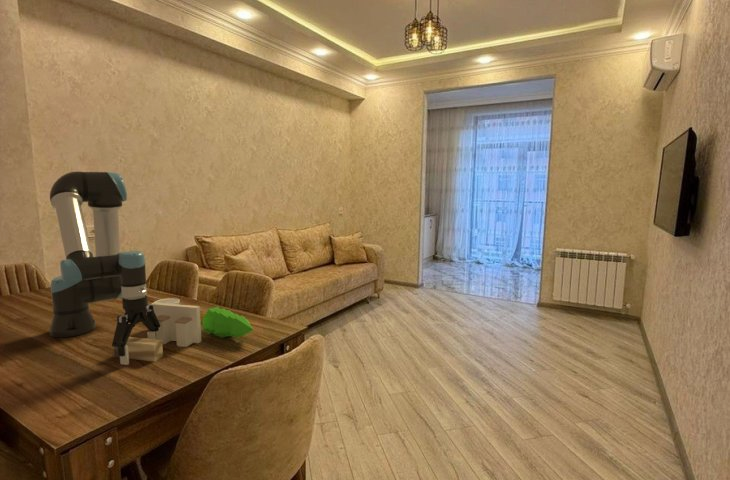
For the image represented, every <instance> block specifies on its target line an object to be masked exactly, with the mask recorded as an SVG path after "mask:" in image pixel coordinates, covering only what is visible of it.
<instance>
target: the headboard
mask: <svg viewBox="0 0 730 480" xmlns="http://www.w3.org/2000/svg"><path fill="white" fill-rule="evenodd" d="M149 305H153V309H154V313H155V315H156V317H157V319H158V321H159V323H160V327H159V330H158V331H156V340H162V346H163V345H166V344H167V343H169V342H173V341H174V342H176V346H177V347H183V348H187V347H189V346H190V345H193V344H200V343H201V342H202V325H201V324H202V323H201V321H200V315H201V306H198V305H188V304H179V305H178V304H165V303H154V302H152V303H150V304H149Z"/></svg>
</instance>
